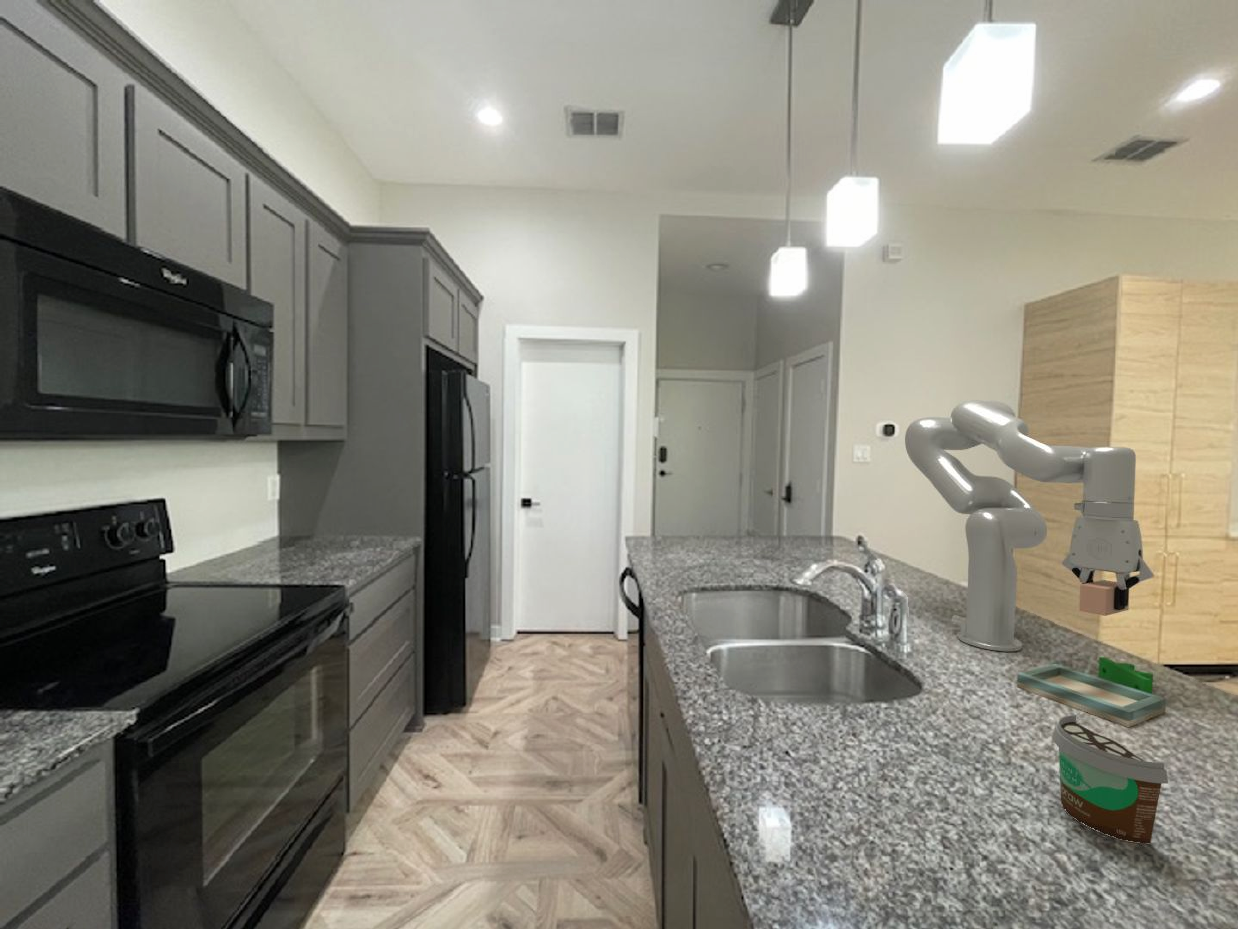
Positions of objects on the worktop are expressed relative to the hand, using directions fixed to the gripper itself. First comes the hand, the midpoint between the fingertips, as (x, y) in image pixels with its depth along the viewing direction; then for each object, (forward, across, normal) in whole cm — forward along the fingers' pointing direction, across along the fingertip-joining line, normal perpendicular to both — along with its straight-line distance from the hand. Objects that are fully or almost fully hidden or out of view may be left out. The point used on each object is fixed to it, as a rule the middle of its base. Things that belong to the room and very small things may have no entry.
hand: (1104, 605), depth 110 cm
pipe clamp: (+16, +4, +2) cm, 17 cm away
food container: (+16, +18, -51) cm, 56 cm away
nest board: (+16, +2, -10) cm, 19 cm away
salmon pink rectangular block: (+1, 0, 0) cm, 1 cm away
